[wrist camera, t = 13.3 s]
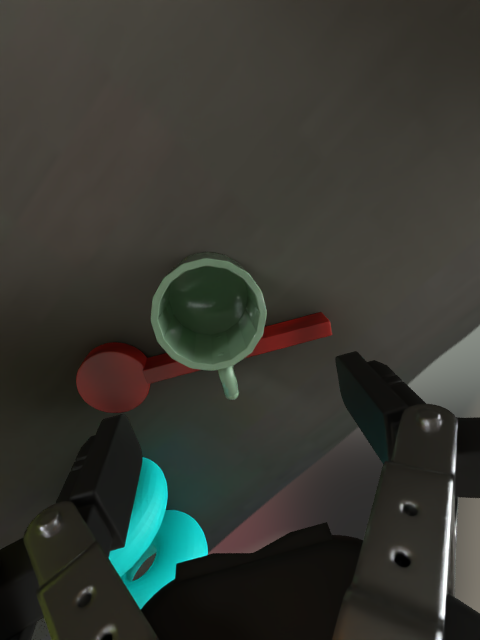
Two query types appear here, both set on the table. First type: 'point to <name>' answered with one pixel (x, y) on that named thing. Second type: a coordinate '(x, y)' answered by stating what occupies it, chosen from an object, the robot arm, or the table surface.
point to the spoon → (168, 364)
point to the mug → (209, 315)
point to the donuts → (155, 537)
